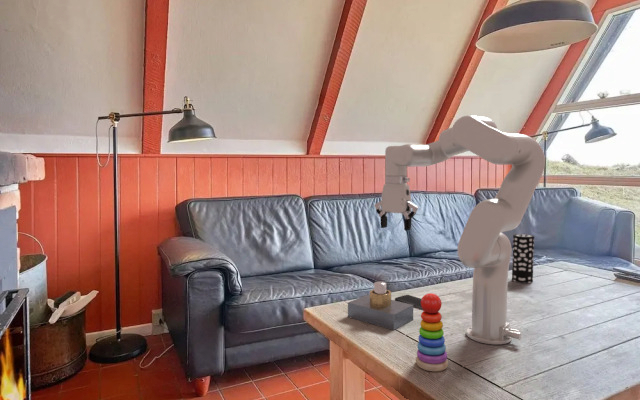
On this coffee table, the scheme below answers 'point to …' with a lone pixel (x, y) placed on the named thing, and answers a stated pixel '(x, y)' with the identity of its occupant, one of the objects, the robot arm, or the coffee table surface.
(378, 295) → the bronze ring
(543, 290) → the coffee table surface
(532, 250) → the spotted tube
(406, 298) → the phone
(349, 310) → the grey peg board
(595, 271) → the coffee table surface
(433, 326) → the stacking toy
